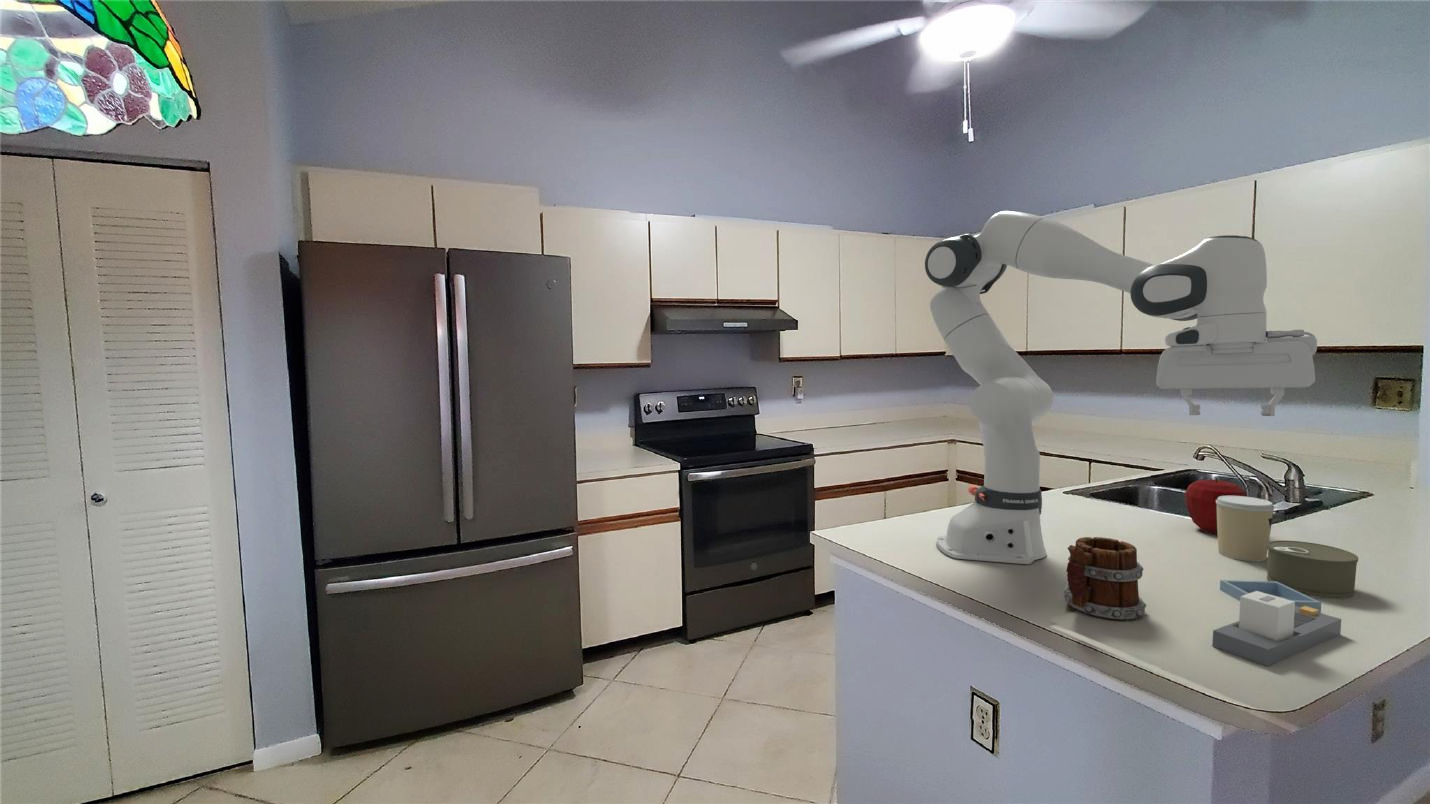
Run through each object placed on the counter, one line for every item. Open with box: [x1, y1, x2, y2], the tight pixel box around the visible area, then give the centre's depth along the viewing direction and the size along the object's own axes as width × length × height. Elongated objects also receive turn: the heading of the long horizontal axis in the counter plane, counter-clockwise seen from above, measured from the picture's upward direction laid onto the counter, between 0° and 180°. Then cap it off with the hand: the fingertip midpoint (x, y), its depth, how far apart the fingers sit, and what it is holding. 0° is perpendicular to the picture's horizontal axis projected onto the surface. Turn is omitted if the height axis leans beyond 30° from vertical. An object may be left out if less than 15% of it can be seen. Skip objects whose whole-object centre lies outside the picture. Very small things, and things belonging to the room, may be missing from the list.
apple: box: [1184, 476, 1248, 534], centre depth 146 cm, size 12×12×13 cm
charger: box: [1238, 591, 1295, 642], centre depth 89 cm, size 4×4×7 cm
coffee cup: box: [1216, 496, 1275, 562], centre depth 129 cm, size 9×9×12 cm
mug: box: [1063, 536, 1147, 622], centre depth 102 cm, size 12×14×15 cm
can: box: [1266, 540, 1359, 599], centre depth 112 cm, size 12×12×7 cm
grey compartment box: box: [1211, 606, 1342, 667], centre depth 91 cm, size 25×6×4 cm, turn 115°
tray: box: [1219, 579, 1322, 613], centre depth 104 cm, size 9×9×3 cm
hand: (1230, 415), depth 102 cm, fingers open, 8 cm apart
